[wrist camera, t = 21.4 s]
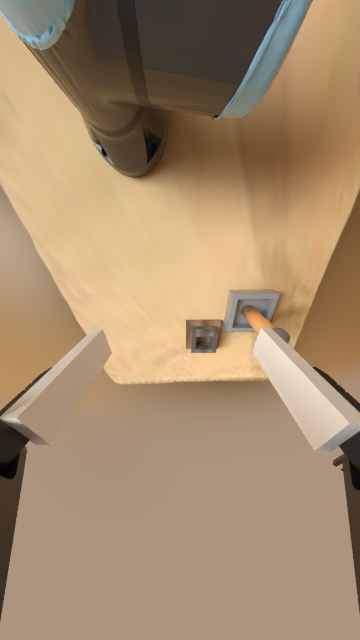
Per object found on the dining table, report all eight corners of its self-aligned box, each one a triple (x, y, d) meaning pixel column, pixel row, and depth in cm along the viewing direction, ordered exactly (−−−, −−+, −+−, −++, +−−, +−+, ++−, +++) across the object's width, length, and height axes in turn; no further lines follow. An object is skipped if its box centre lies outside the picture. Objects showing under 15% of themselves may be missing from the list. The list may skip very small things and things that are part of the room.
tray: (223, 325, 48) (226, 332, 44) (229, 290, 41) (233, 294, 38) (260, 325, 47) (266, 331, 44) (272, 289, 41) (280, 293, 37)
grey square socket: (186, 346, 53) (186, 356, 48) (186, 320, 47) (186, 328, 42) (216, 345, 52) (219, 356, 48) (220, 319, 46) (224, 328, 42)
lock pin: (236, 317, 45) (259, 350, 31) (240, 302, 42) (266, 330, 28) (253, 317, 45) (284, 350, 31) (258, 302, 42) (294, 330, 28)
